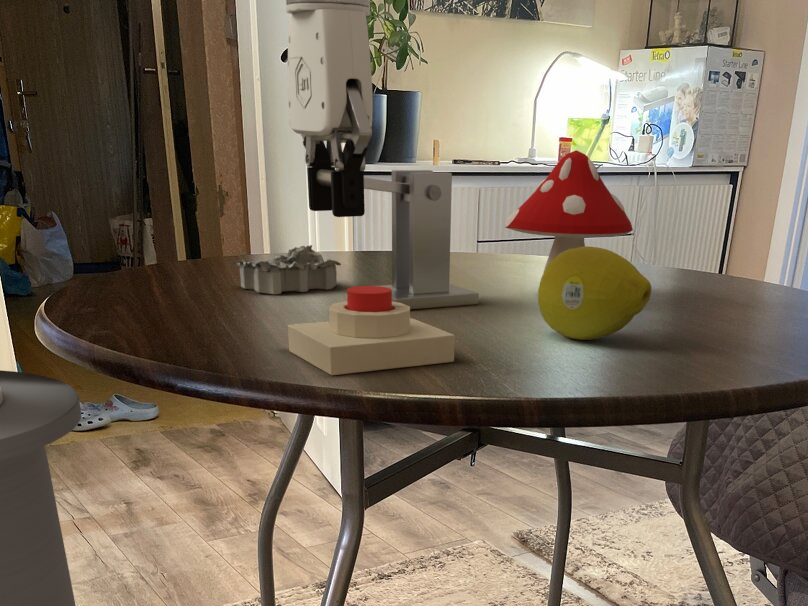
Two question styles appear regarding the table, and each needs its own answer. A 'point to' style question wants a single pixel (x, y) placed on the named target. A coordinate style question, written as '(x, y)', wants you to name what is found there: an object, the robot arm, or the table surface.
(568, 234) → the decorative mushroom
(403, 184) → the tap lever
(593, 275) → the lemon
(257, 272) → the egg carton
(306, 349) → the control block
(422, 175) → the grey lever stand
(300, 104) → the robot arm
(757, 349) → the table surface
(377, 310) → the button
